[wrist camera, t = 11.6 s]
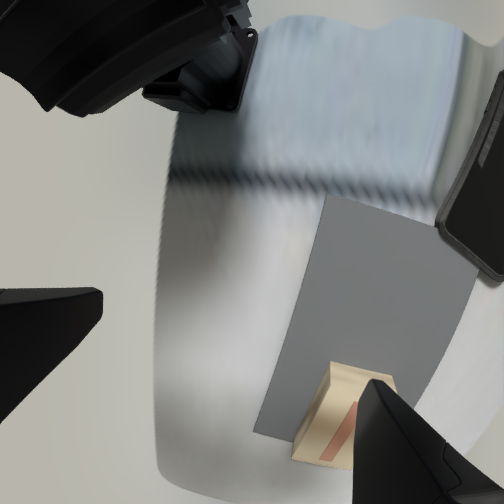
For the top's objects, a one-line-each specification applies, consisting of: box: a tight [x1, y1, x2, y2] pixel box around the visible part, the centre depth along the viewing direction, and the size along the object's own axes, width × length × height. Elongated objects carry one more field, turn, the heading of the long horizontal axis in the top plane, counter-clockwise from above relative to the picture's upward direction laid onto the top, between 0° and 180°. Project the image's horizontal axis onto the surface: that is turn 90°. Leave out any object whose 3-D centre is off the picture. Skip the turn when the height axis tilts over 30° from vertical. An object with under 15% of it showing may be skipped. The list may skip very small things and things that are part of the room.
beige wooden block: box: [291, 361, 397, 470], centre depth 20 cm, size 8×5×3 cm, turn 166°
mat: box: [253, 194, 480, 442], centre depth 20 cm, size 20×12×1 cm, turn 167°
